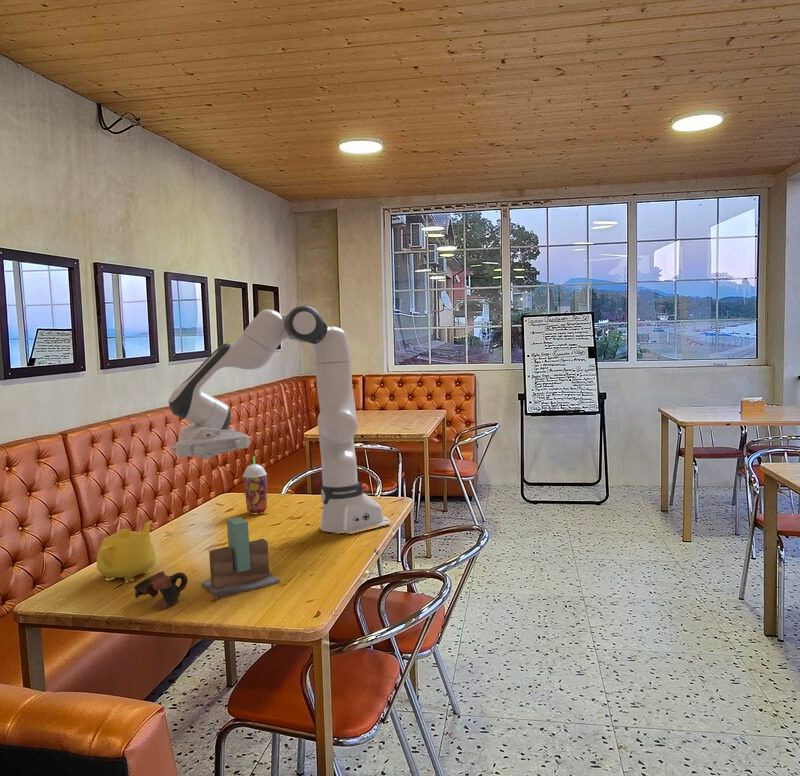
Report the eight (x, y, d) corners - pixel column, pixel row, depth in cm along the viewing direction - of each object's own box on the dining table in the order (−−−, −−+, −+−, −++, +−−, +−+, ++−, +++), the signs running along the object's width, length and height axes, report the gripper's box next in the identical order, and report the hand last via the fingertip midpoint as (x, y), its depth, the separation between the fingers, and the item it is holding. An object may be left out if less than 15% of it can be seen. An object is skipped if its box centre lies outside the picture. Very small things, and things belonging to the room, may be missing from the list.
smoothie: (246, 510, 234) (243, 455, 233) (270, 508, 235) (267, 453, 233) (243, 516, 226) (240, 459, 224) (268, 514, 227) (264, 458, 225)
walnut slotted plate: (201, 584, 164) (199, 547, 163) (261, 569, 172) (259, 533, 172) (217, 599, 154) (215, 559, 153) (280, 582, 163) (278, 544, 162)
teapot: (174, 562, 181) (171, 519, 180) (124, 590, 162) (120, 541, 161) (134, 559, 185) (131, 517, 184) (80, 586, 165) (76, 539, 164)
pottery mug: (148, 618, 146) (132, 585, 147) (143, 622, 154) (128, 591, 155) (197, 590, 153) (182, 559, 154) (190, 596, 160) (175, 566, 162)
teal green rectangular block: (229, 565, 164) (226, 519, 163) (241, 562, 166) (239, 516, 165) (238, 572, 159) (235, 524, 158) (250, 569, 161) (247, 521, 160)
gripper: (167, 436, 183) (181, 441, 172) (237, 427, 195) (255, 432, 183) (169, 458, 184) (183, 465, 172) (239, 448, 195) (256, 454, 184)
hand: (221, 448), depth 178 cm, fingers open, 8 cm apart
